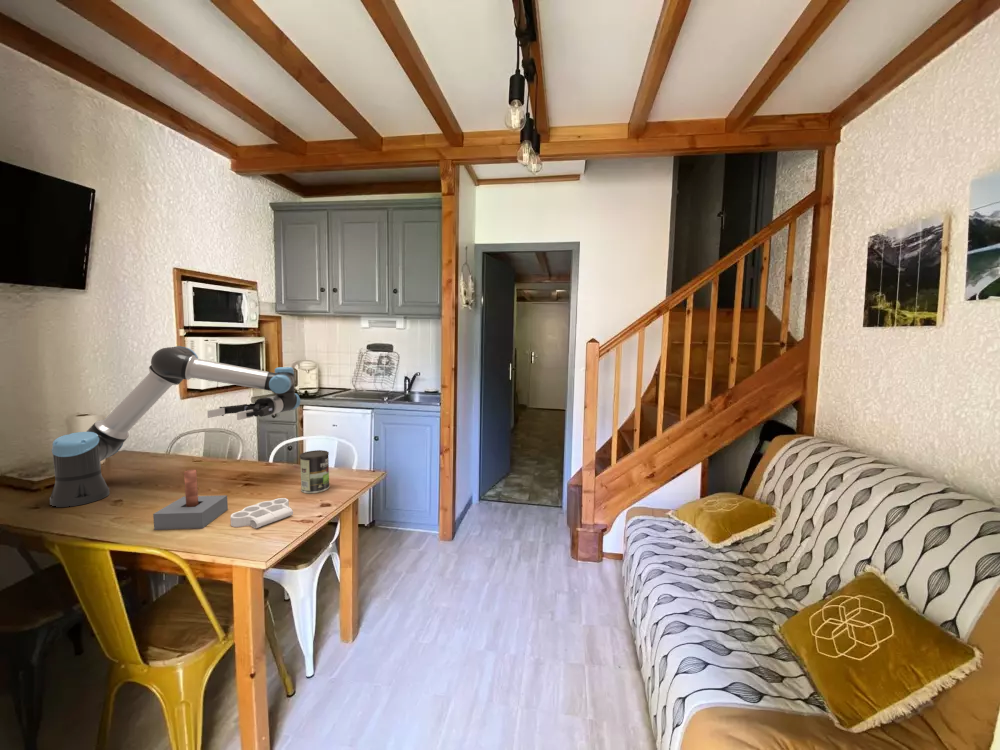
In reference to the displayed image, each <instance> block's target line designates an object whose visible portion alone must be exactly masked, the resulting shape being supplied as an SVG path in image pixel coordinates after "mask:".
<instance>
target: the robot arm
mask: <svg viewBox="0 0 1000 750" xmlns="http://www.w3.org/2000/svg"><path fill="white" fill-rule="evenodd" d="M148 370H149V373H148V374H147V375H146V376H145V377H144V378H143V379H142V380H141V381H140V382H139V383H138V384H137V386H136V387H134V388H133V389H132V390H131V392H130V393H129V394H128V395H127V396H126V397H125V398H123V399H122V401H121V402H120V403H119V404H118V405H117V406H116V407H115V408H114V409H113V410H112V411H111V412H110V413H109V414H108V415H107V416H106V417H105V419H101V420H96V421H95V422H94V423H93V424H92V425H91V426H90V427H89V428H88V429H87V430H86V431H79V432H72V433H69V434H63V435H62V436H58V437H57V438H56V439H54V440H53V441H52V446H51V447H52V448H51V453H52V460H53V471H54V479H55V482H54V486H53V489H52V491H51V495H50V497H49V505H52V506H56V507H55V508H69V506H70V507H75V506H76V507H77V506H81V505H82V506H83V505H87V504H90V503H94V502H96V501H100V500H102V499H105V498H106V497H109V495H110V487H109V486H108V485H107V483H106V480H105V478H104V476H103V475H102V465H101V464H102V463H101V461H104V460H105V459H106V460H107V458H109V457H111V456H112V457H113V456H114V455H115V454H117V453H118V452H119V451H120V450H121V448H122V447H123V445H124V443H125V442H126V440H127V439H129V437H130V435H129V431H130V430H131V429H132V428H133V427H134V425H136V424H137V422H139V421H140V419H142V418H143V416H144V415H145V414H146V413H147V412H148V411H149V410H150V409H151V408H152V407H153V406H154V405H155V404H156V403H157V402H158V401H159V399H161V398H162V396H163V395H164V394H165V393H166V392H167V391H168V390H169V389H170V388H172V386H177V385H180V384H181V382H182V381H184V380H187V381H189V380H191V379H198V380H205V381H209V382H216V383H221V384H222V383H223V384H228V385H232V386H233V385H236V386H241V387H246V388H252V389H259V390H265V391H270V392H273V393H275V395H272V396H267V397H262V398H261V397H260V398H258V399H256V400H255V402H254V403H253V402H252V403H249V404H247V403H244V404H236V405H228V406H219V408H214V409H210V410H209V409H208V410H207V418H216V417H220V416H222V417H224V416H225V415H226V414H227V415H228V414H236V420H238V421H240V420H245V419H249V418H254V417H256V418H257V417H261V418H262V417H267V416H270V415H271V416H275V415H276V414H279V413H283V412H289V411H292V410H295V409H298V408H299V407H300V405H301V401H302V400H301V398H300V395H299V394H298V393H295V392H296V391H295V372H294V371H295V370H294V368H293V367H289V366H283V367H282V366H281V367H280V366H279V367H276V368H274V372H272V371H266V370H261V369H255V368H250V367H244V366H238V365H234V364H229V363H223V362H217V361H212V360H206V359H201V358H199V356H198V355H197V353H196V352H195V351H194V350H192V349H190V348H188V347H186V346H182V345H178V346H177V345H176V346H172V347H171V346H169V347H163V348H160V349H159V350H156V351H155V352H154V353H153V355H152V356H151V359H150V366H148ZM52 506H51V507H52Z"/></svg>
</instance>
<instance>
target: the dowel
mask: <svg viewBox="0 0 1000 750" xmlns="http://www.w3.org/2000/svg"><path fill="white" fill-rule="evenodd" d="M197 474H198V473H197V469H188V470H185V471H183V477H184V478H183V480H184V493H185V494H184V495H185V496H186V507H196V506H197V505H198V496H199V492H198V491H199V490H198V478H197Z"/></svg>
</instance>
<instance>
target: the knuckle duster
mask: <svg viewBox="0 0 1000 750" xmlns="http://www.w3.org/2000/svg"><path fill="white" fill-rule="evenodd" d="M292 515H294V511H293V509H292V508H291V507H290V505H289V499H288V498H286V497H281V498H275V499H272V500H266V501H265V500H264V501H259V502H258V503H255V504H252V505H248V506H245V507H244V508H243V509H241V510H239V511H236V512H233V513H231V514H230V526H231V527H234V528H241V527H247V526H250V527H252V528H254V529H258V528H261V527H264V526H266V525H270V524H271V523H274V522H277V521H280V520H283V519H285V518H288V517H291V516H292Z"/></svg>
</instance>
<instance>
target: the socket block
mask: <svg viewBox="0 0 1000 750" xmlns="http://www.w3.org/2000/svg"><path fill="white" fill-rule="evenodd" d="M228 510H229V504H228V495H227V494H226V495H225V494H224V495H222V494H221V495H198V505H197V506H196V507H186V495H185V496H184V495H183V496H182V497H180V498H178V499H177V500H175V501H173V502H171V503H170V504H168V505H167V506H164V507H163V508H161V509H159V510H158V511H156V512H154V513H153V514H152V515H153V516H152V517H153V530H155V531H157V530H158V531H159V530H161V531H162V530H186V529H187V530H189V529H204V528H205V527H206V526H208V525H209V524H210V523H212V522H213V521H215V520H216V519H217V518H218V517H219V516H222V514H224V513H225V512H226V511H228Z"/></svg>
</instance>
